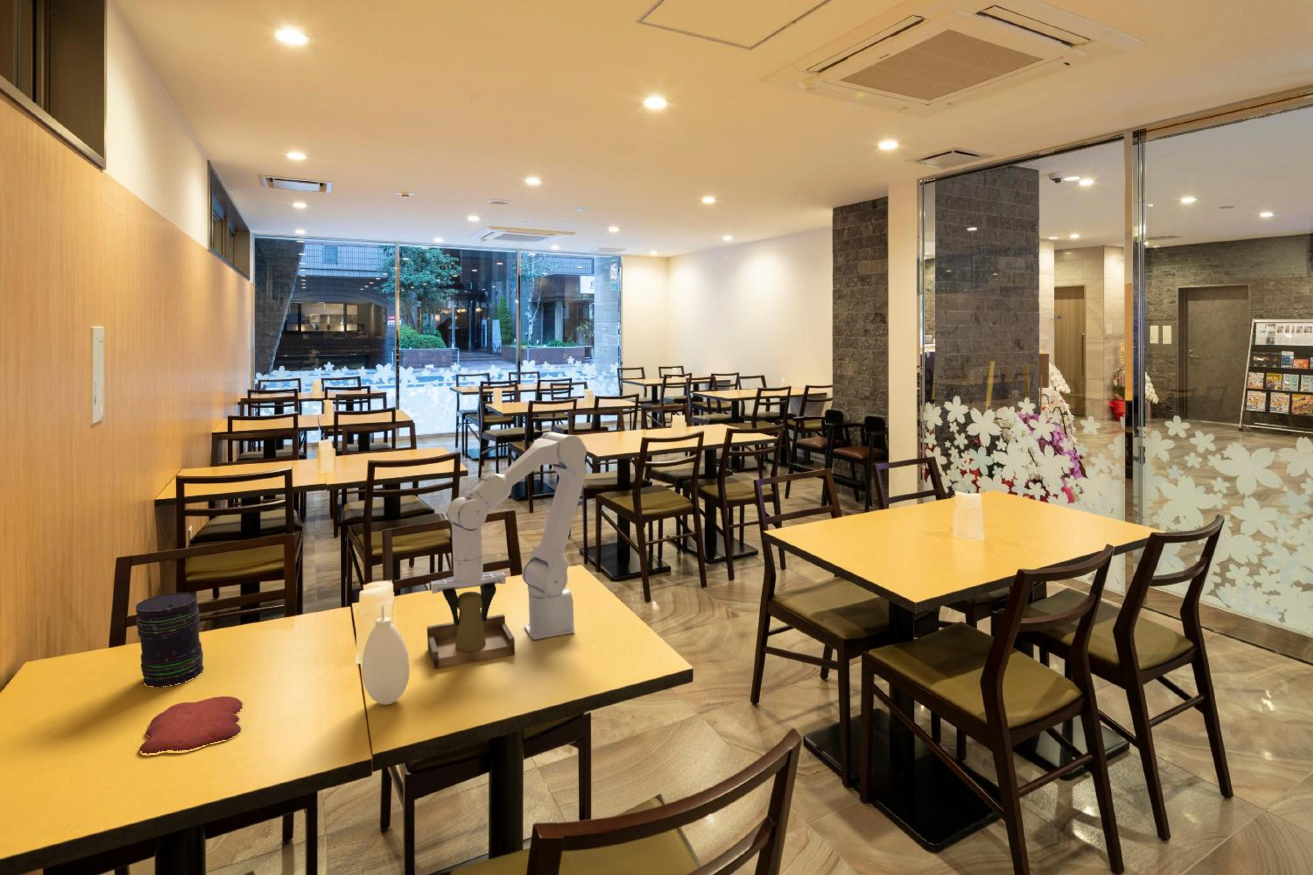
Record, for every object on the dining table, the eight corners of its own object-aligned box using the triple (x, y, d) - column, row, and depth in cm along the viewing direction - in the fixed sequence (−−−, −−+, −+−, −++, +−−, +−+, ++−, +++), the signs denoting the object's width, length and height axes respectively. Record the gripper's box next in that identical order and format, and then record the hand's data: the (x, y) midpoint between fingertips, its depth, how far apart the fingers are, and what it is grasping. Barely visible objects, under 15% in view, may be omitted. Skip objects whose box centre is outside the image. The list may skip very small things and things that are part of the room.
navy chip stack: (137, 676, 136) (129, 601, 134) (196, 659, 143) (189, 588, 141) (149, 693, 129) (141, 615, 127) (211, 675, 137) (204, 600, 135)
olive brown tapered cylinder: (491, 641, 146) (490, 590, 145) (474, 653, 141) (473, 600, 139) (467, 637, 148) (466, 586, 147) (449, 648, 143) (447, 596, 142)
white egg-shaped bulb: (366, 717, 121) (360, 616, 118) (362, 697, 128) (356, 601, 125) (414, 706, 124) (409, 608, 122) (407, 687, 131) (402, 594, 129)
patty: (239, 743, 114) (239, 731, 114) (134, 767, 108) (133, 755, 107) (245, 695, 129) (244, 685, 129) (153, 714, 123) (152, 703, 123)
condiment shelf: (504, 636, 154) (503, 614, 153) (514, 654, 145) (514, 630, 144) (428, 649, 148) (426, 626, 147) (433, 669, 139) (432, 644, 138)
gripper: (499, 547, 149) (501, 609, 151) (428, 555, 143) (431, 620, 145) (506, 556, 143) (509, 620, 145) (432, 565, 137) (435, 632, 139)
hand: (470, 621), depth 144 cm, fingers closed on olive brown tapered cylinder, 5 cm apart
